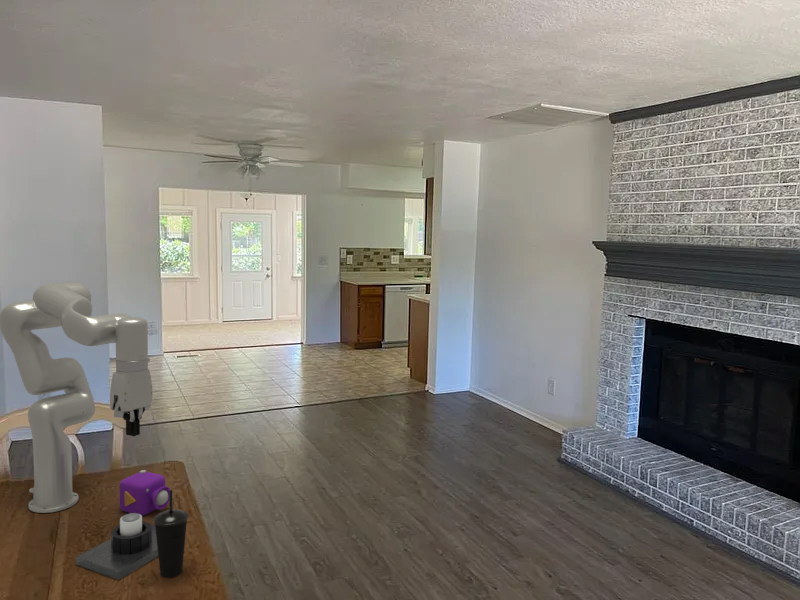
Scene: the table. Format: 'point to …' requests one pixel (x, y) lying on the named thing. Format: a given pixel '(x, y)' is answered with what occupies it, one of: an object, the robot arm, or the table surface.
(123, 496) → the toy camera
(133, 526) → the white cylinder
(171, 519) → the drinking cup
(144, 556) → the lens mount
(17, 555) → the table surface
